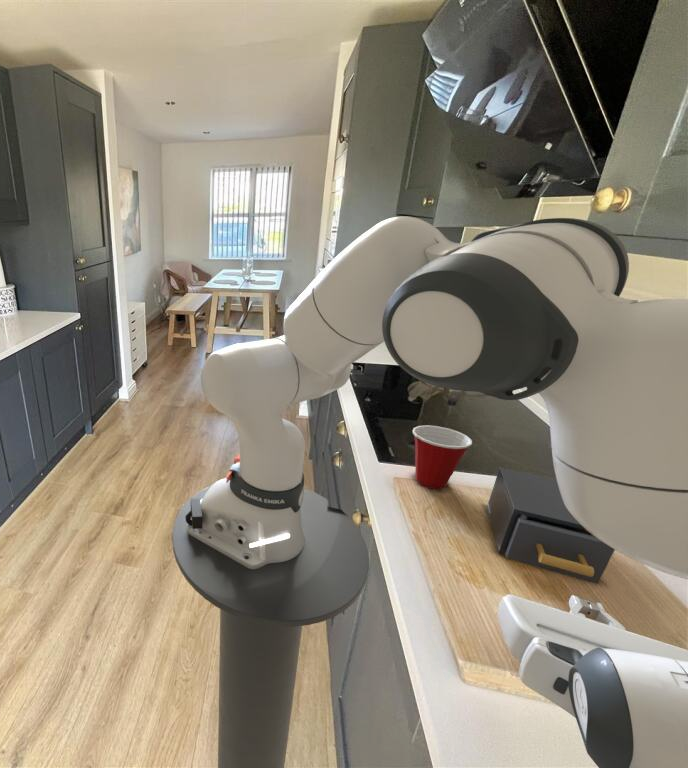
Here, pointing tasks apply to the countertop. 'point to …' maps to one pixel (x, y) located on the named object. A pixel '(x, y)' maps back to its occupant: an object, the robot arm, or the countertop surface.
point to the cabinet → (525, 503)
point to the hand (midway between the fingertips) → (584, 602)
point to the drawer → (558, 548)
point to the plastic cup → (437, 454)
